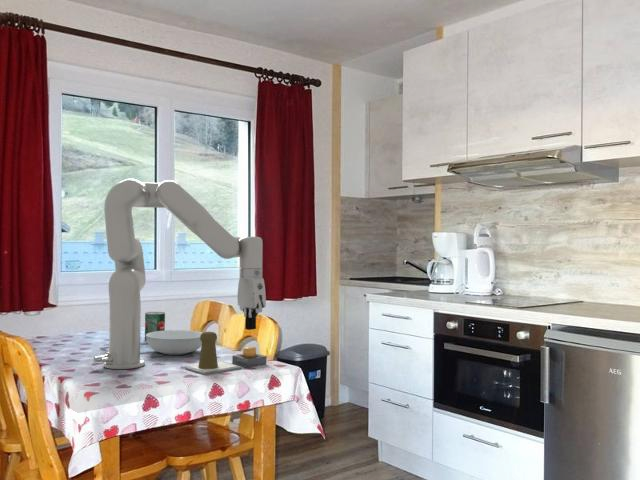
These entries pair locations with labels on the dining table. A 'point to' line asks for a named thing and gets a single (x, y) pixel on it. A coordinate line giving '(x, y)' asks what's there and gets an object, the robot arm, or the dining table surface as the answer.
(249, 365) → the button housing
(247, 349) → the button
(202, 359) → the cork
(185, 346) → the serving bowl
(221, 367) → the board
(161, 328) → the canned tomato
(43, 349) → the dining table surface
